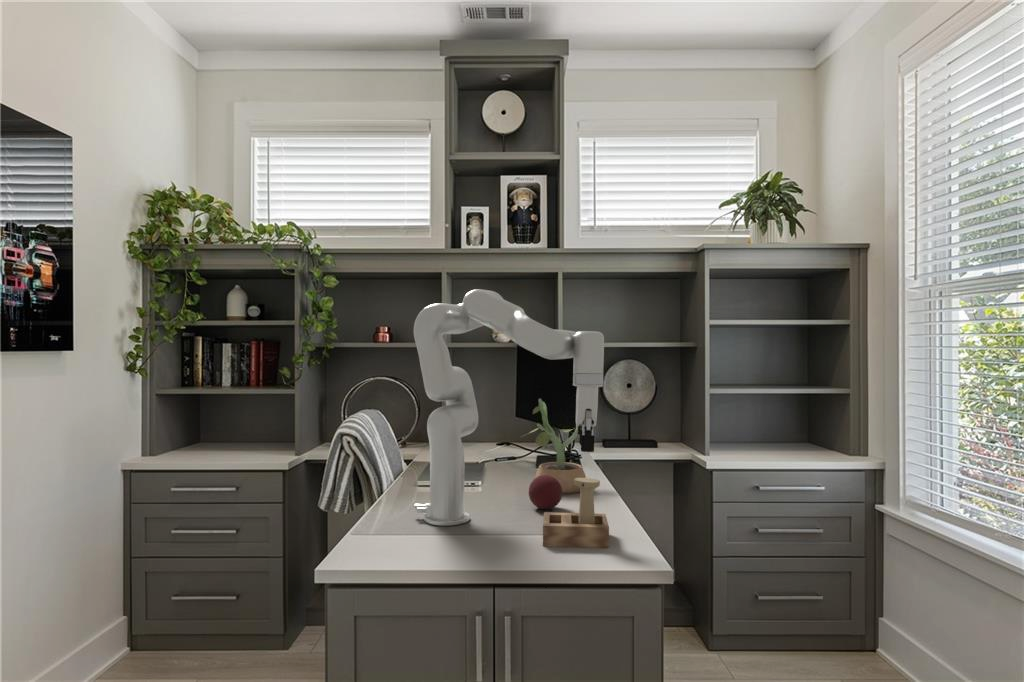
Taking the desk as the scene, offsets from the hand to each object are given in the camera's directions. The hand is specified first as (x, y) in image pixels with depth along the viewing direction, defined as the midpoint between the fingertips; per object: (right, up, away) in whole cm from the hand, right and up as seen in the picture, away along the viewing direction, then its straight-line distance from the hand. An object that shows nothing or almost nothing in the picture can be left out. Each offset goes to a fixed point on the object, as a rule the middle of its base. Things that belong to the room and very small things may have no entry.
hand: (586, 448), depth 163 cm
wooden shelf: (-3, -23, 0) cm, 23 cm away
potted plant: (-5, -23, +56) cm, 60 cm away
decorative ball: (-9, -23, +29) cm, 38 cm away
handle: (0, -23, 0) cm, 23 cm away
